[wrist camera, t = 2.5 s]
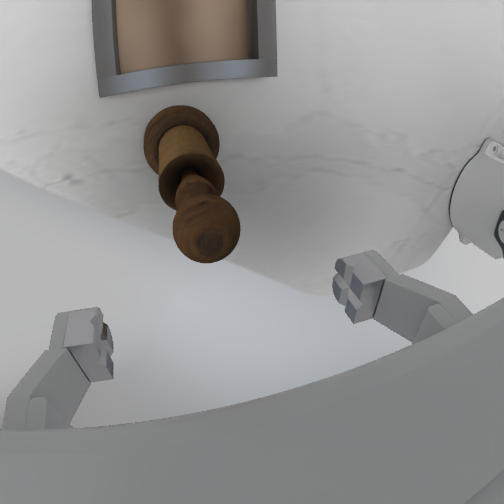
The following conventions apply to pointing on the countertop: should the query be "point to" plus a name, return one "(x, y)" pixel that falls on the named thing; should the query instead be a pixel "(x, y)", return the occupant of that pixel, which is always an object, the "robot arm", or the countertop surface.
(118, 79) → the tray
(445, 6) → the countertop surface
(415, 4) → the countertop surface
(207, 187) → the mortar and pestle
